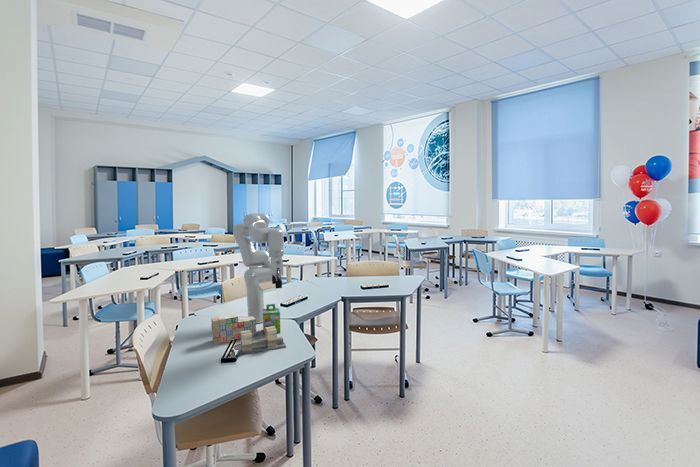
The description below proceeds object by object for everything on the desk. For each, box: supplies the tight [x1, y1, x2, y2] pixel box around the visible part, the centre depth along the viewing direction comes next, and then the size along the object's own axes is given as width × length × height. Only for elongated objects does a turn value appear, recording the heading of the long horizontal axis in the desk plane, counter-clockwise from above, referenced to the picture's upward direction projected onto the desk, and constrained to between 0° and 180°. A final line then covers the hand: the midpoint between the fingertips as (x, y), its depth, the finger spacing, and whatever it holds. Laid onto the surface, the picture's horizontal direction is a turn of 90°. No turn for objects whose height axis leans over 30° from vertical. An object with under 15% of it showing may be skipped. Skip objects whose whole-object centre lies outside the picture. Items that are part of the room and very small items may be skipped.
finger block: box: [264, 326, 278, 347], centre depth 184 cm, size 5×5×8 cm
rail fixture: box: [233, 330, 287, 357], centre depth 182 cm, size 9×24×9 cm, turn 112°
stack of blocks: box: [210, 313, 257, 345], centre depth 196 cm, size 21×6×12 cm, turn 118°
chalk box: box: [262, 303, 281, 335], centre depth 205 cm, size 9×9×15 cm
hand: (277, 285), depth 195 cm, fingers open, 9 cm apart
